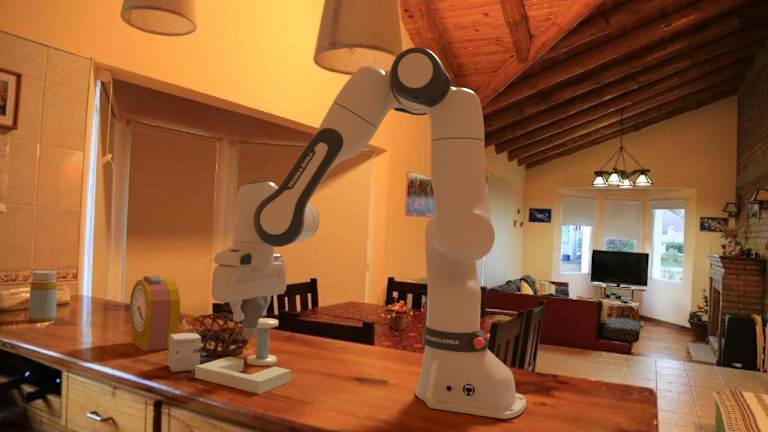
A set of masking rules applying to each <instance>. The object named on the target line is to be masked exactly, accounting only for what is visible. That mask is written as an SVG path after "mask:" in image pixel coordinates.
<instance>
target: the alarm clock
mask: <svg viewBox="0 0 768 432" xmlns="http://www.w3.org/2000/svg"><path fill="white" fill-rule="evenodd" d="M131 290H132V291H131V293H130V299H129V317H130V323H131V343H132V342H134V343H135V344H137V345H138V346H140V347H141V348H142V349H141V348H140V347H139V348H140V349H141V350H143V349H144V350H145V351H144V350H143V351H144V352H146V351H147V352H154V351H153V350H155V351H161V350H162V349H163V350H169V336H170V334H179V324H180V315H181V298H180V293H179V292H180V291H179V288H178V285H177V283H176V281H175V280H174V279H173V278H161V276H159V275H144V276H143V279H138V280H136V281H135V284H133V288H132V289H131ZM134 343H133V344H134ZM135 344H134V345H135ZM137 345H136V346H137ZM138 346H137V347H138Z"/></svg>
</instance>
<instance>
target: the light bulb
mask: <svg viewBox="0 0 768 432" xmlns="http://www.w3.org/2000/svg"><path fill="white" fill-rule="evenodd" d="M264 307H265V304H264V301H263V299H262V297H260V296H257V297H254V298H252V299H246V300H242V305H240V308H241V311H242V312H245V314H244V320H242V321H241V324H242V327H243V337H244V338H246V339H248V340H251V339H254V338H255V337H257V328H256V327H257V325H258V320H259V318H261V317H260V316H261V315H262V313H263V311H264Z"/></svg>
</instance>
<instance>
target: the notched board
mask: <svg viewBox="0 0 768 432" xmlns="http://www.w3.org/2000/svg"><path fill="white" fill-rule="evenodd" d="M244 362H245V360H244V359H242V358H237V357H234V356H227V357H223V358H219V359H216V360H212V361H209V362H206V363H202V364H200V365H198V366H196V368H195V370H194V378H195V379H200V380H202V381H207V382H211V383H215V384H218V385H223V386H227V387H230V388H235V389H239V390H242V391H245V392H250V393H255V394H258V395H260V394H263V393H266V392H269V391H270V390H273V389H275V388H278V387H280V386H283V385H285V384H288V383H290V382H291V380H292V378H291V377H292V370H291V369H287V368H284V367H280V366H279V367H278V366H273V367H269V368H266V369H263V370H260V371H258V372H255V373H252V374H248V373H247V374H246V373H242V372H243V371H244V367H245V366H244Z"/></svg>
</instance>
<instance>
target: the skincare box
mask: <svg viewBox="0 0 768 432" xmlns="http://www.w3.org/2000/svg"><path fill="white" fill-rule="evenodd" d="M201 345H202V336H200V335H199V334H198V333H197V332H183V333H182V332H181V333H178V334H170V336H169V349H168V357H167V366H168V367H170V368H169V370H170V371H171V370H172V371H171V372H172V373H173V372H175V373H176V372H183V371H193V370H194V371H195V368H196V366H198V365H201V364H200V363H201V348H202V347H201Z"/></svg>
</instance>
